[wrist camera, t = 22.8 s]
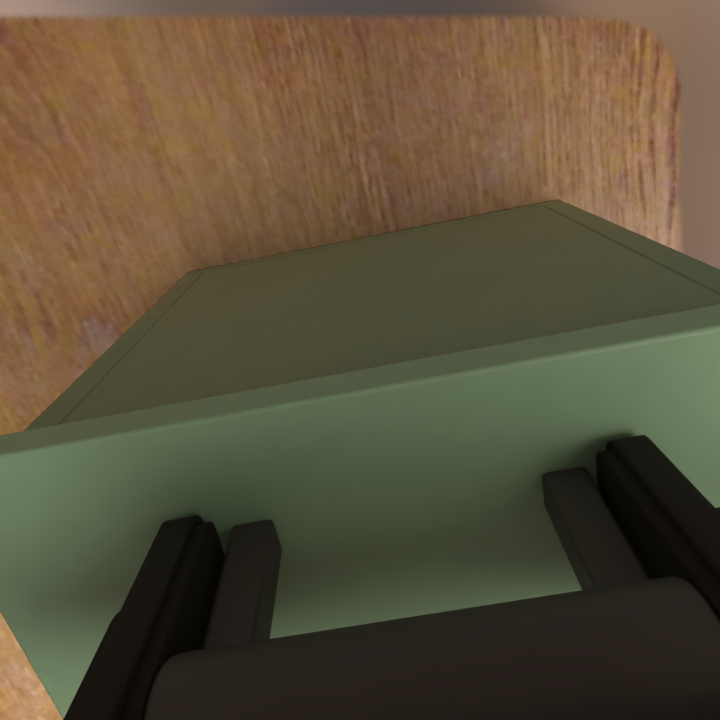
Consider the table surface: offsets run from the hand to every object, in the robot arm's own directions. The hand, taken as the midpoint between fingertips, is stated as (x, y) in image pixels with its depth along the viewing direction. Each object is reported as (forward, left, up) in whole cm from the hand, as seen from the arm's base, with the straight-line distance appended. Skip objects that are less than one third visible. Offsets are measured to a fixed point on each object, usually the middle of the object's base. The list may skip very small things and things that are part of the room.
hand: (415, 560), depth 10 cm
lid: (+5, -2, -1) cm, 5 cm away
